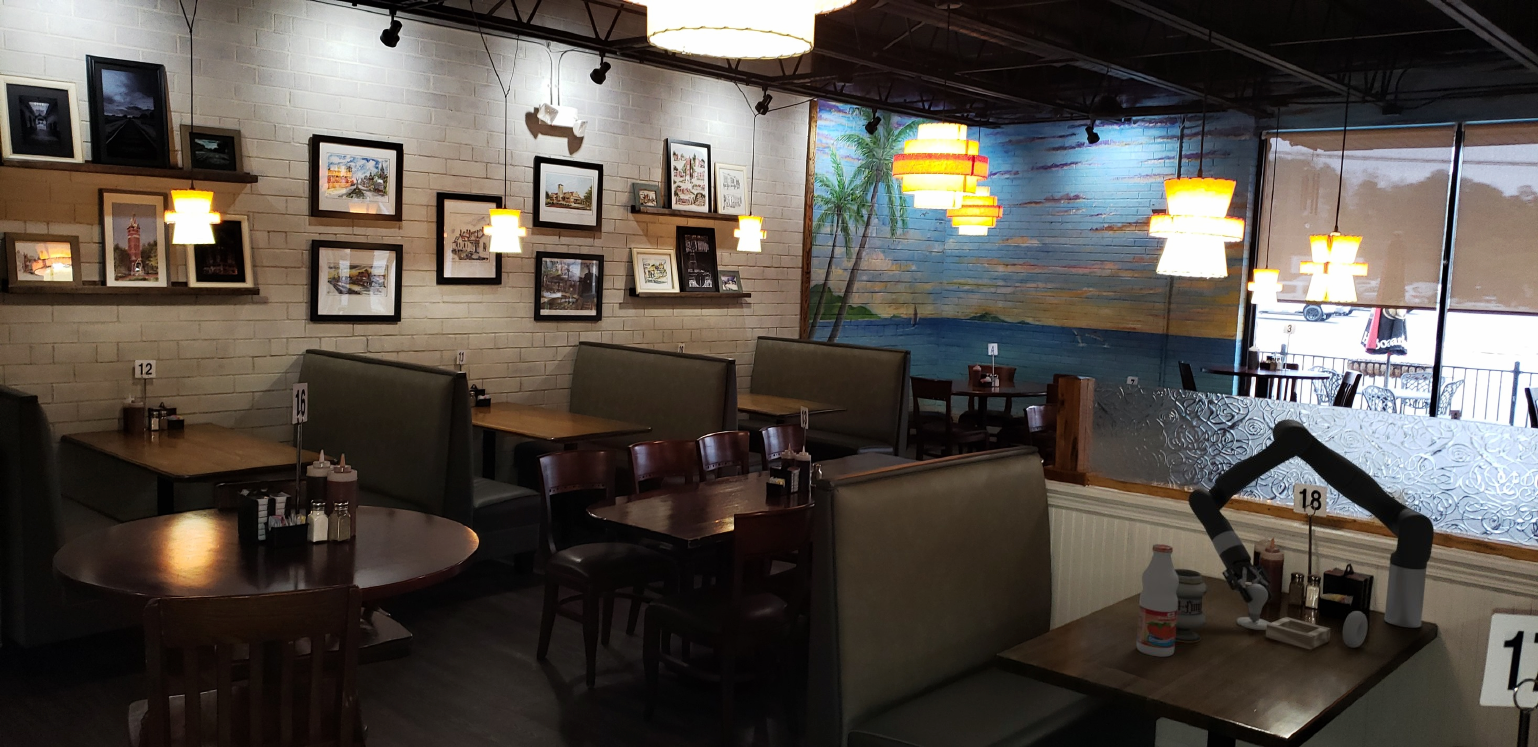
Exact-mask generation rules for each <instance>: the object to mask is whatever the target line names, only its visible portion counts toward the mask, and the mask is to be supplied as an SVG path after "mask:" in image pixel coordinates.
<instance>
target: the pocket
mask: <svg viewBox="0 0 1538 747" xmlns="http://www.w3.org/2000/svg"><path fill="white" fill-rule="evenodd" d="M1330 636H1331V628H1330V627H1326V626H1323V625H1318V624H1314V623H1311V622H1306V621H1303V620H1299V619H1296V618H1291V617H1288V616H1285V617H1283V618H1280V619H1278V620H1275V621H1273V622H1270V624H1267V627H1266V630H1265V638H1268V639H1271V640H1275V641H1279V642H1282V643H1286V644H1290V645H1292V646H1295V647H1299V648H1304V649H1307V650H1309V651H1310V650H1312V649H1315V648H1317V647H1320V646H1321V645H1324V644H1326V643H1329V642H1330V638H1331V637H1330Z"/></svg>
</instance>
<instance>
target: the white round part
mask: <svg viewBox="0 0 1538 747" xmlns="http://www.w3.org/2000/svg"><path fill="white" fill-rule="evenodd" d="M1236 623H1237V624H1238V625H1239V626H1240V625H1241V626H1240V627H1243V628H1246V629H1250V630H1256V631H1266V627H1267V624H1270V623H1271V622H1269V621H1267V620H1265V619H1262V618H1259V621H1256V622H1253V621H1252V620H1250V616H1243V617H1241V616H1240V617H1238V618H1236Z"/></svg>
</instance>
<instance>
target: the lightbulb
mask: <svg viewBox="0 0 1538 747" xmlns="http://www.w3.org/2000/svg"><path fill="white" fill-rule="evenodd" d="M1260 584H1261V583H1260ZM1260 584H1252V583H1250V584H1249V585H1248V586H1247V587H1246V588H1247V589H1248V591H1249V593H1250V595H1251V596H1252V598H1253V600H1252V601H1251V602H1250V603H1247V604H1248V612H1249V617H1250V620H1252V621H1253V622H1256V621H1259V619H1261V618H1260V617H1261V616H1260V615H1261V613H1262V610H1263V606H1264V605H1265V604H1266V602H1268V601H1267V599H1268V592H1267V590H1266V589H1265V587H1263V586H1262V585H1260Z"/></svg>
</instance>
